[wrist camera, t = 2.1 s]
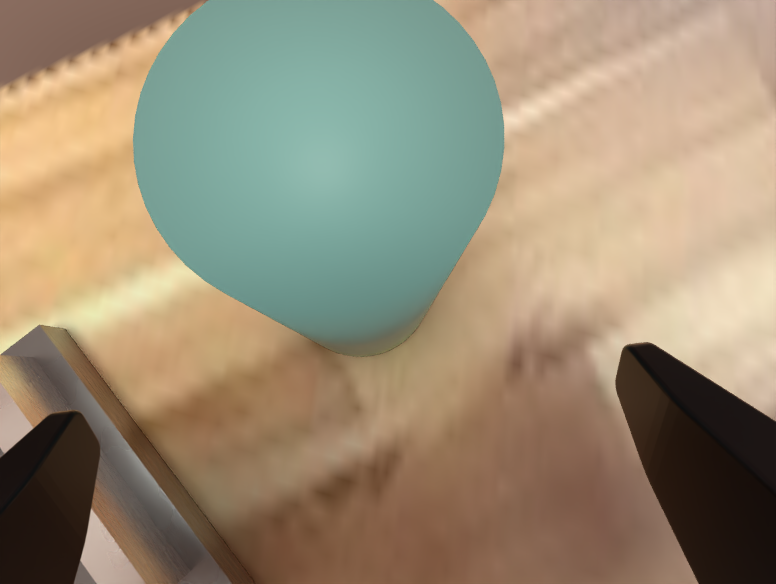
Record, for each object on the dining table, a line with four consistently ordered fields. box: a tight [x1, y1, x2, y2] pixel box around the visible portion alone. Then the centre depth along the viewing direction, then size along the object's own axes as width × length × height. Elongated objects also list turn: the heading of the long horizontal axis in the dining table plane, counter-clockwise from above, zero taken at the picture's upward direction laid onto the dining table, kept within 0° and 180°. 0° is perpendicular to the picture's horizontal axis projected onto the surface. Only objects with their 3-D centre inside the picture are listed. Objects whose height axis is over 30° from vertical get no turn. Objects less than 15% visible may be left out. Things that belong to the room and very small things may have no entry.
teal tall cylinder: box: [133, 0, 504, 357], centre depth 14 cm, size 5×5×13 cm
